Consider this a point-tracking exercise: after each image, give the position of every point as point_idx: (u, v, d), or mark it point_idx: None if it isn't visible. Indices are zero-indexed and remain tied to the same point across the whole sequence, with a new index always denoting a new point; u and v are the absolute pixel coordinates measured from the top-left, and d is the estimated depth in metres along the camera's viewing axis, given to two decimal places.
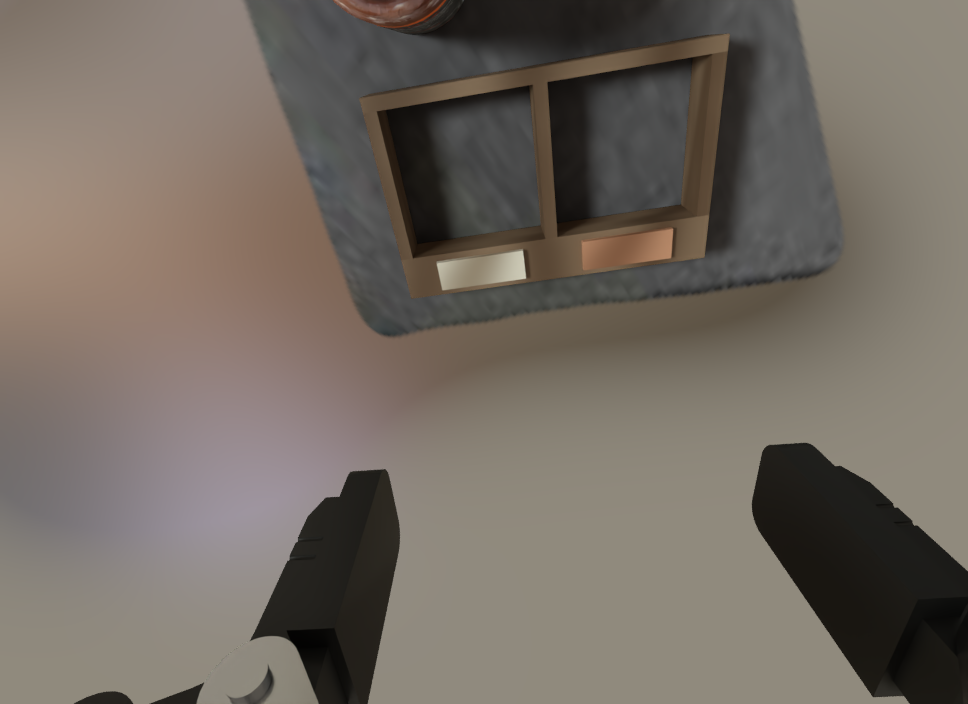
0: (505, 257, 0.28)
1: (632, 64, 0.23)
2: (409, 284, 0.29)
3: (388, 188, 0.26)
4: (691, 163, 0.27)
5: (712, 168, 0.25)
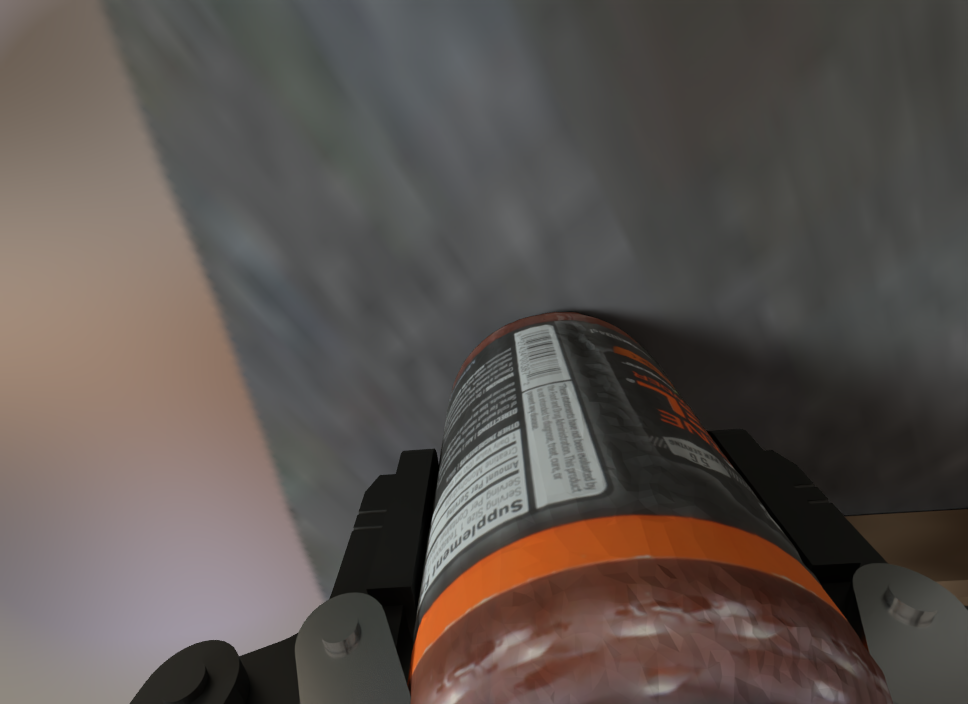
0: None
1: None
2: None
3: None
4: None
5: None
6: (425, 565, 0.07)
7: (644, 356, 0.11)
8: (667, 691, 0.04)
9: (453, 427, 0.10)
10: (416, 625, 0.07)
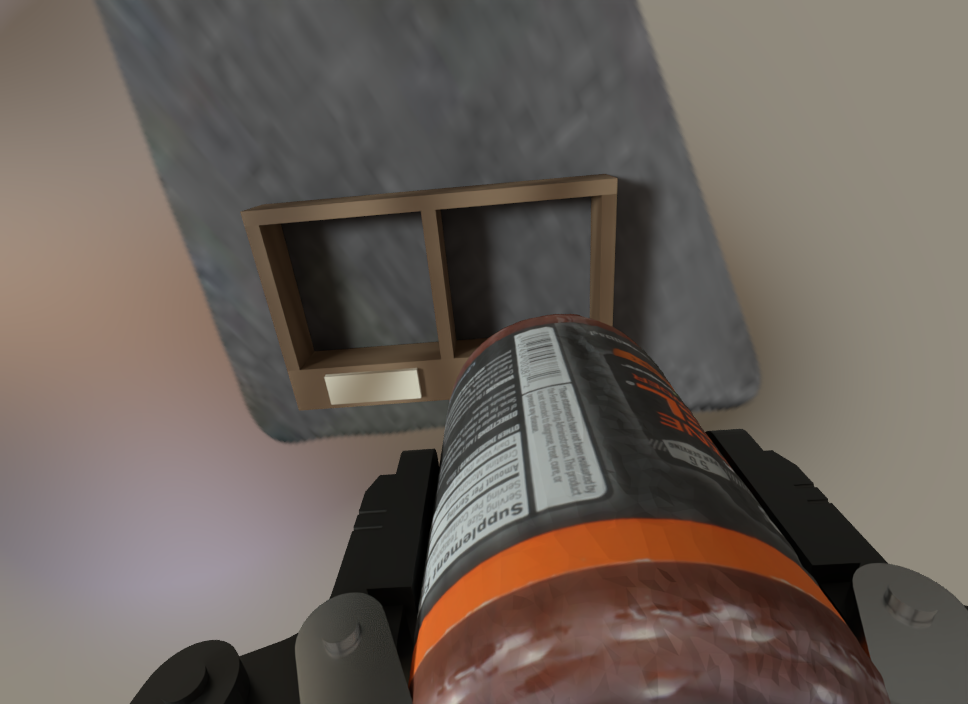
0: (397, 375, 0.26)
1: (521, 199, 0.22)
2: (296, 395, 0.27)
3: (272, 299, 0.25)
4: (594, 293, 0.26)
5: (611, 302, 0.25)
6: (426, 567, 0.07)
7: (644, 358, 0.11)
8: (665, 692, 0.04)
9: (453, 429, 0.10)
10: (417, 627, 0.07)
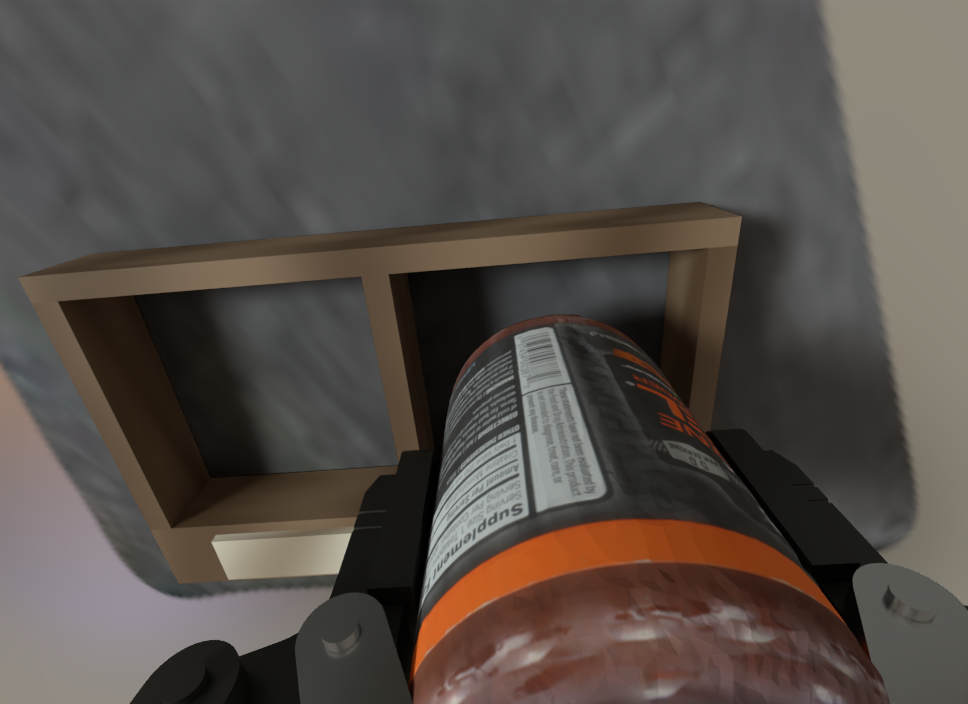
0: (335, 540, 0.15)
1: (553, 255, 0.12)
2: (171, 564, 0.16)
3: (106, 424, 0.14)
4: None
5: (706, 428, 0.14)
6: (426, 568, 0.07)
7: (644, 359, 0.11)
8: (665, 693, 0.04)
9: (453, 430, 0.10)
10: (417, 628, 0.07)
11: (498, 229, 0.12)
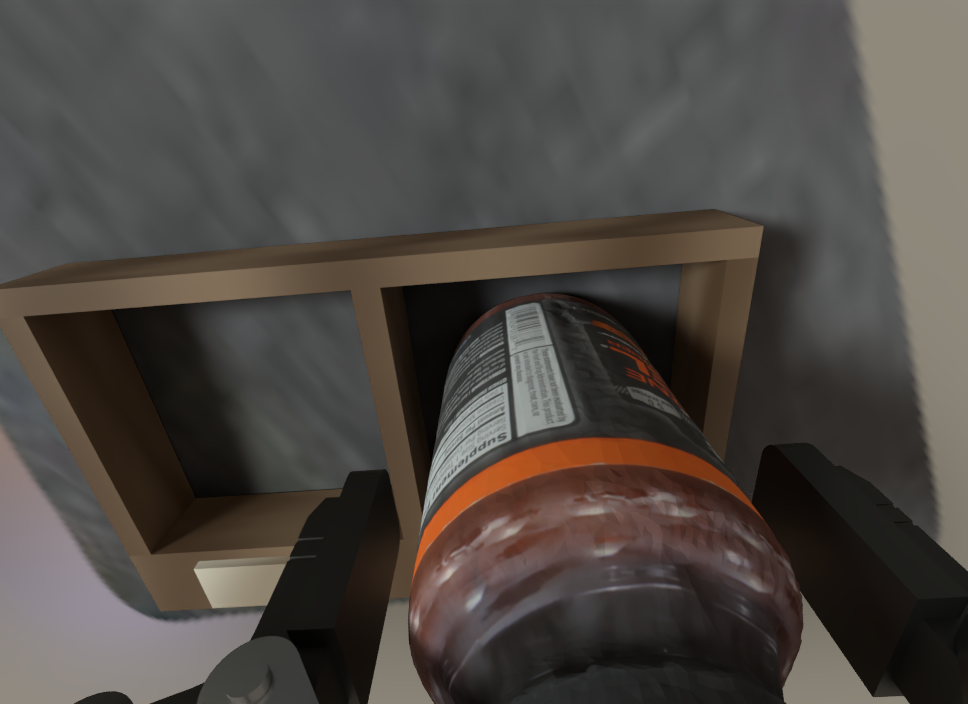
0: None
1: (558, 267, 0.11)
2: (152, 591, 0.15)
3: (79, 445, 0.13)
4: None
5: (722, 450, 0.13)
6: (426, 497, 0.09)
7: (620, 330, 0.12)
8: (611, 553, 0.06)
9: (451, 390, 0.11)
10: (419, 540, 0.08)
11: (499, 239, 0.11)
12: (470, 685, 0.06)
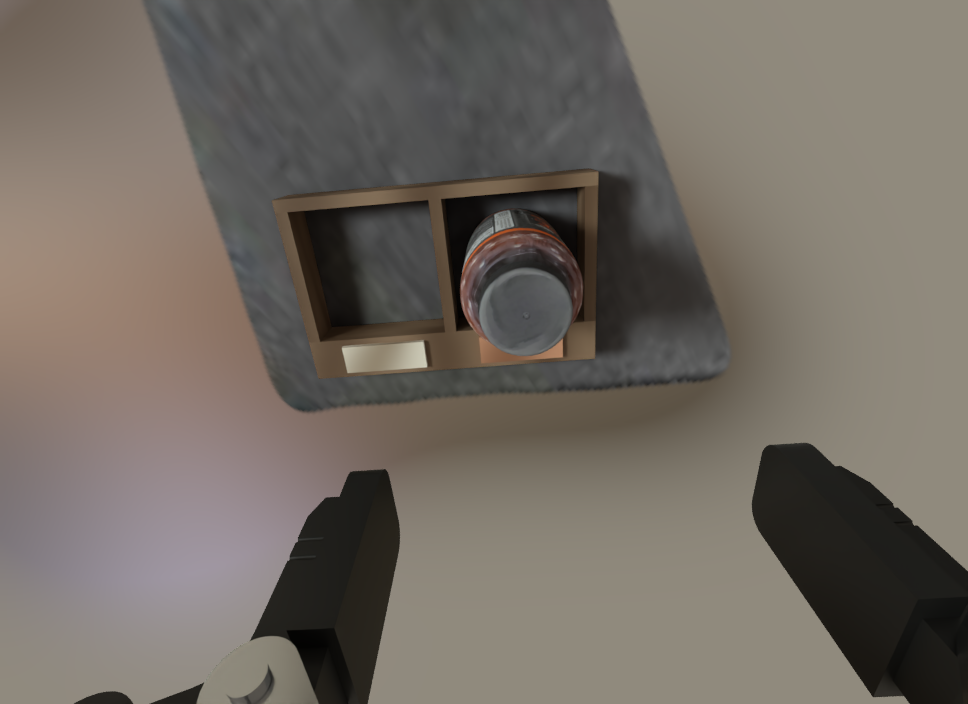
0: (406, 346, 0.29)
1: (515, 190, 0.26)
2: (316, 365, 0.30)
3: (297, 278, 0.28)
4: None
5: (594, 280, 0.28)
6: (463, 267, 0.24)
7: (545, 220, 0.27)
8: (518, 246, 0.21)
9: (470, 243, 0.26)
10: (462, 274, 0.23)
11: (491, 179, 0.26)
12: (480, 287, 0.21)
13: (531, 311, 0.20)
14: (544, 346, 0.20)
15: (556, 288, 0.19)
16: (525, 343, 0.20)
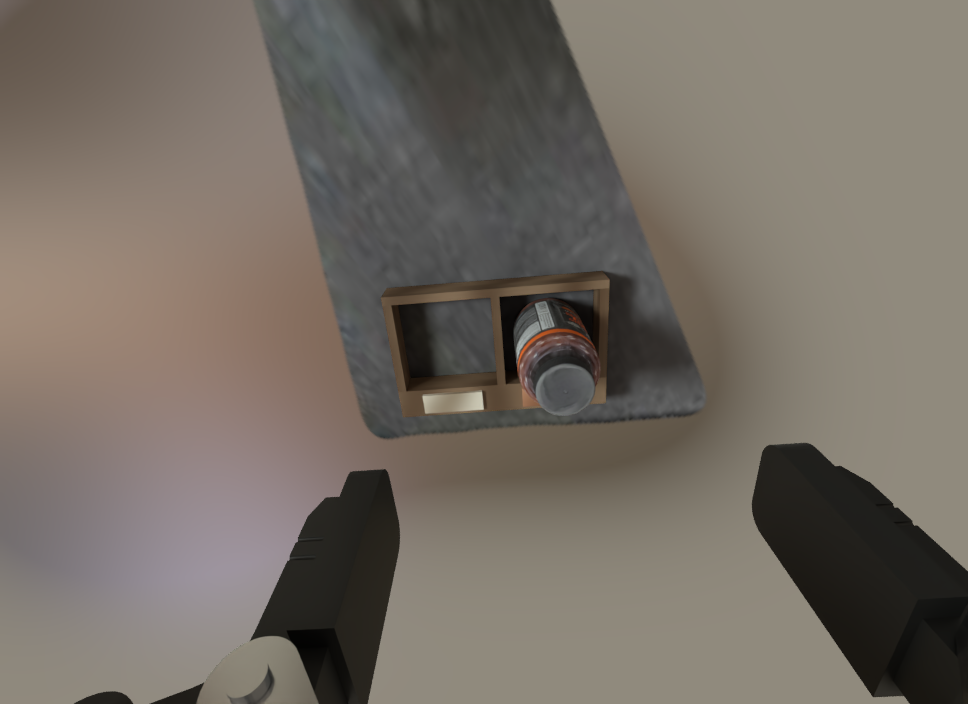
0: (469, 395, 0.41)
1: (551, 291, 0.37)
2: (402, 408, 0.42)
3: (394, 348, 0.39)
4: (595, 343, 0.40)
5: (606, 350, 0.39)
6: (518, 349, 0.35)
7: (571, 309, 0.38)
8: (559, 344, 0.32)
9: (519, 327, 0.37)
10: (518, 356, 0.34)
11: (533, 282, 0.38)
12: (534, 370, 0.32)
13: (569, 389, 0.31)
14: (576, 410, 0.31)
15: (585, 376, 0.30)
16: (564, 408, 0.31)
